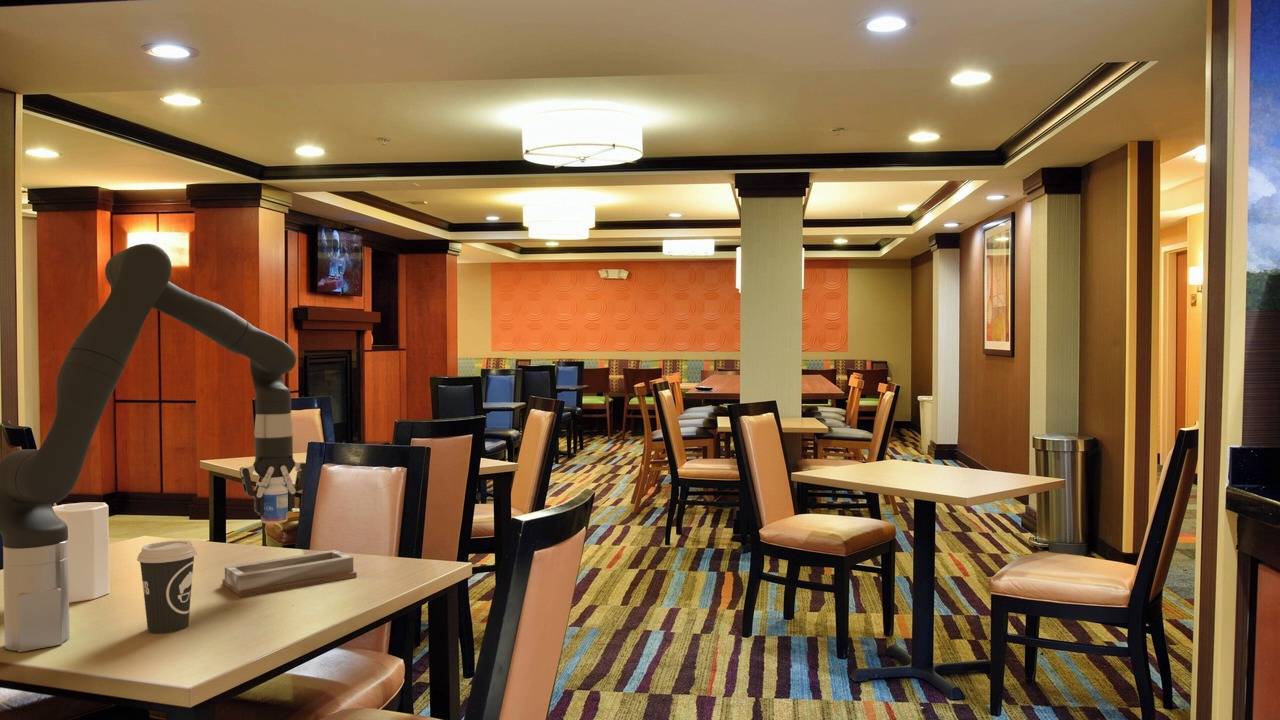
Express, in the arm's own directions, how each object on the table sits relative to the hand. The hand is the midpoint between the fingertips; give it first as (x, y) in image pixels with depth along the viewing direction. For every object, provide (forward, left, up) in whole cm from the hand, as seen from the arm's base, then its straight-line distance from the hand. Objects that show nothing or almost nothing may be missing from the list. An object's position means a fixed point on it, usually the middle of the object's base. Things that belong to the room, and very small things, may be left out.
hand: (274, 512), depth 189 cm
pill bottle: (0, 0, -2) cm, 2 cm away
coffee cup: (-19, +25, -15) cm, 35 cm away
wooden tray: (0, -3, -15) cm, 16 cm away
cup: (+17, +34, -15) cm, 41 cm away
